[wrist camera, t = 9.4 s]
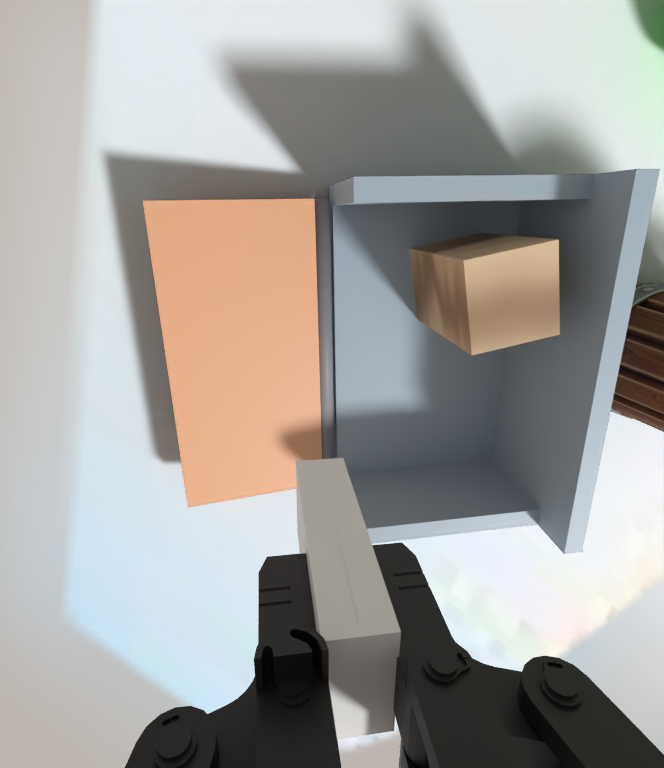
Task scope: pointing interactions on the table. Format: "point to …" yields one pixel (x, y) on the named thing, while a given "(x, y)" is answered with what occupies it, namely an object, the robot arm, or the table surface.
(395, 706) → the robot arm
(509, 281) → the wooden block
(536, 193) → the box
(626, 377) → the mug
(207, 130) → the table surface
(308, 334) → the panel
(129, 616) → the table surface
